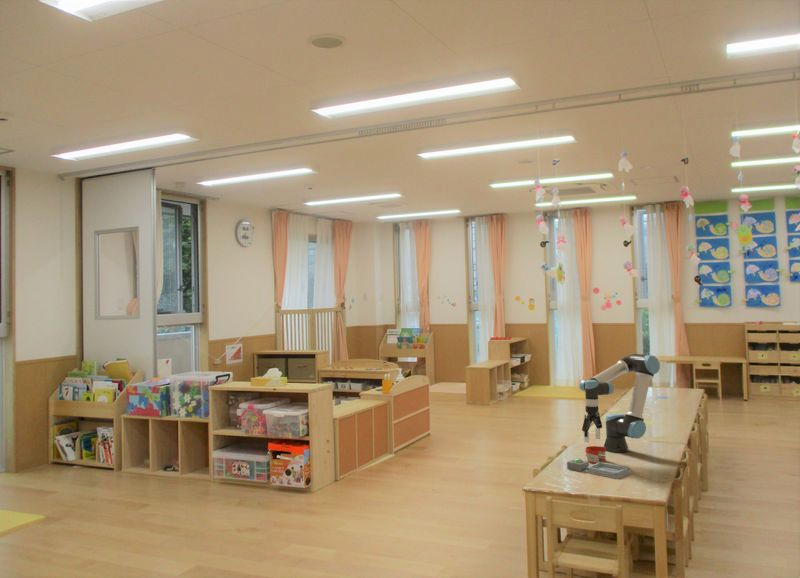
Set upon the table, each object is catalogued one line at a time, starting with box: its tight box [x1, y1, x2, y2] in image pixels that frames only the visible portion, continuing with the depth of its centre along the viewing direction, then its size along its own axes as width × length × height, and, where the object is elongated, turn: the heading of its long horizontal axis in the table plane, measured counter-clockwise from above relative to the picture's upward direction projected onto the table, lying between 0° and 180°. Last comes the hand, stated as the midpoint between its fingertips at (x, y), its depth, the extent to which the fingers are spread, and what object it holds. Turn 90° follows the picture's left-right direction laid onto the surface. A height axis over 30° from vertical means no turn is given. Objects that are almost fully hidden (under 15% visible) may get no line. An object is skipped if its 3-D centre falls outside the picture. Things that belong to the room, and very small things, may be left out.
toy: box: [584, 445, 607, 465], centre depth 385 cm, size 12×10×8 cm
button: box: [573, 457, 582, 463], centre depth 369 cm, size 4×4×4 cm
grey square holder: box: [566, 459, 590, 472], centre depth 369 cm, size 9×9×4 cm
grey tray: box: [584, 461, 632, 480], centre depth 359 cm, size 16×20×3 cm
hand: (592, 440), depth 385 cm, fingers open, 13 cm apart
